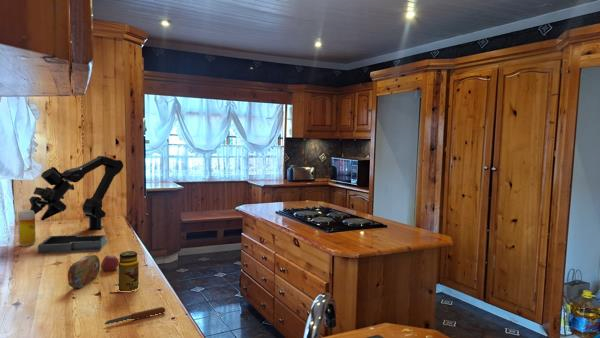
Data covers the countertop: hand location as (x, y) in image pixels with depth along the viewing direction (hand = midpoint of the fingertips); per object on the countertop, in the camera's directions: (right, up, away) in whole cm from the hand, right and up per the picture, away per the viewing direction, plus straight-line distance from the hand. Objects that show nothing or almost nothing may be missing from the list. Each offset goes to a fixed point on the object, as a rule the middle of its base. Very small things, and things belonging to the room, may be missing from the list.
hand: (34, 218), depth 172 cm
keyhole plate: (+21, -12, -4) cm, 24 cm away
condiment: (+62, -17, -46) cm, 78 cm away
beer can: (-2, -11, -2) cm, 12 cm away
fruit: (+49, -15, -28) cm, 59 cm away
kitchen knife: (+74, -20, -66) cm, 101 cm away
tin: (+46, -17, -42) cm, 64 cm away
